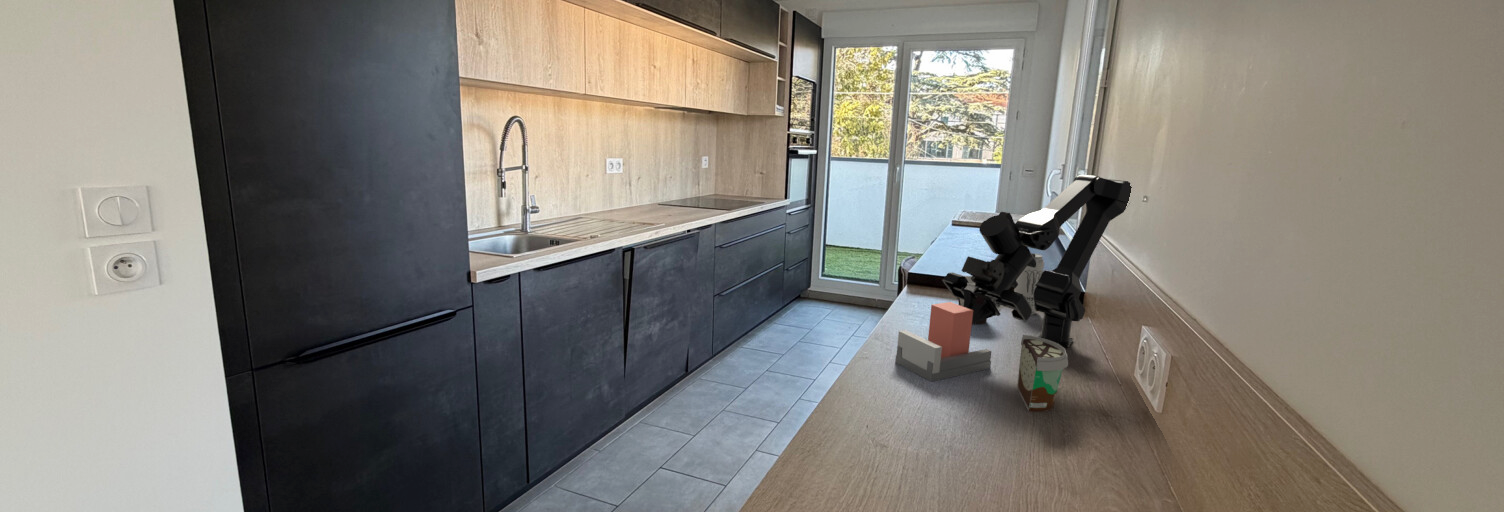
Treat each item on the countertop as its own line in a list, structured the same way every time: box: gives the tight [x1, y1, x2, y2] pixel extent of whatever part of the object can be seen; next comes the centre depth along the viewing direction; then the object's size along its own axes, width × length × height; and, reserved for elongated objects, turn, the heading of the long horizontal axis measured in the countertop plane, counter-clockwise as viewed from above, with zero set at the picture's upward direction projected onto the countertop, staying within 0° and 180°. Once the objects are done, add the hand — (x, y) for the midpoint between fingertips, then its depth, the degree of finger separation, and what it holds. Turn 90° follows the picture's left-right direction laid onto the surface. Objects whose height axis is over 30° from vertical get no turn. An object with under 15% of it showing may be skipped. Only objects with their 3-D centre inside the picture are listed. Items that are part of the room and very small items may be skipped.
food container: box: [1016, 334, 1069, 413], centre depth 107 cm, size 12×6×10 cm, turn 168°
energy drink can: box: [1013, 252, 1045, 316], centre depth 158 cm, size 6×6×15 cm
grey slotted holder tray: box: [894, 329, 992, 382], centre depth 122 cm, size 16×10×6 cm, turn 118°
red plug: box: [927, 301, 973, 358], centre depth 122 cm, size 5×6×10 cm
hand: (960, 327), depth 123 cm, fingers closed, pressing on red plug
